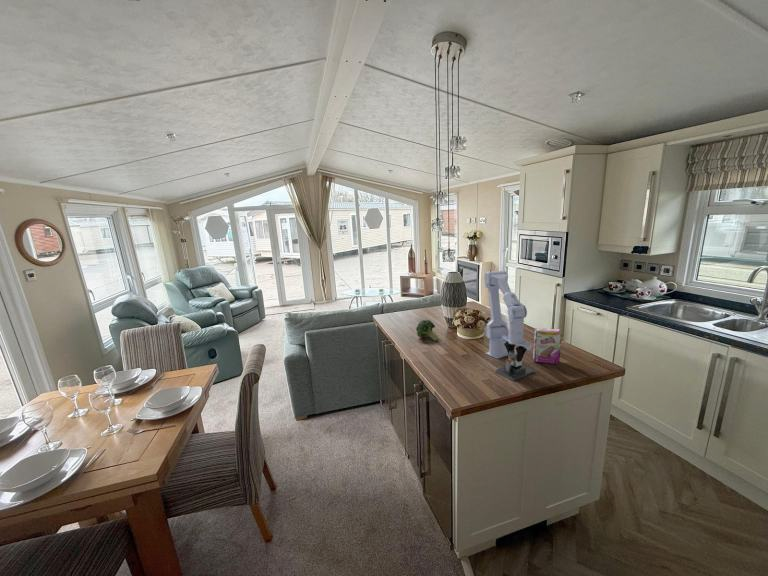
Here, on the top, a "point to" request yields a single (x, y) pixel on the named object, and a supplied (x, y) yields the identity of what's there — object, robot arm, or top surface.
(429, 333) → the vegetable
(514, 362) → the layered white box
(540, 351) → the candy bar box
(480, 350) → the top surface
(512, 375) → the stand base
